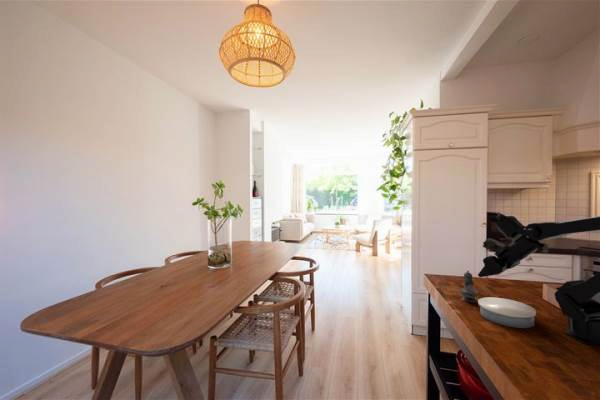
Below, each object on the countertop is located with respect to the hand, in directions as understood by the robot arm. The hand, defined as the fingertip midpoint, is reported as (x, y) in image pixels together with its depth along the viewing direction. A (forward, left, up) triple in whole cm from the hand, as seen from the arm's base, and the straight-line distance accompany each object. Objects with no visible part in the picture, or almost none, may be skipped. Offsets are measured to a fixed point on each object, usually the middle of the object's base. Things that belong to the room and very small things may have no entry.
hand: (484, 273), depth 93 cm
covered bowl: (-11, 0, -12) cm, 16 cm away
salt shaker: (+4, +4, -12) cm, 13 cm away
